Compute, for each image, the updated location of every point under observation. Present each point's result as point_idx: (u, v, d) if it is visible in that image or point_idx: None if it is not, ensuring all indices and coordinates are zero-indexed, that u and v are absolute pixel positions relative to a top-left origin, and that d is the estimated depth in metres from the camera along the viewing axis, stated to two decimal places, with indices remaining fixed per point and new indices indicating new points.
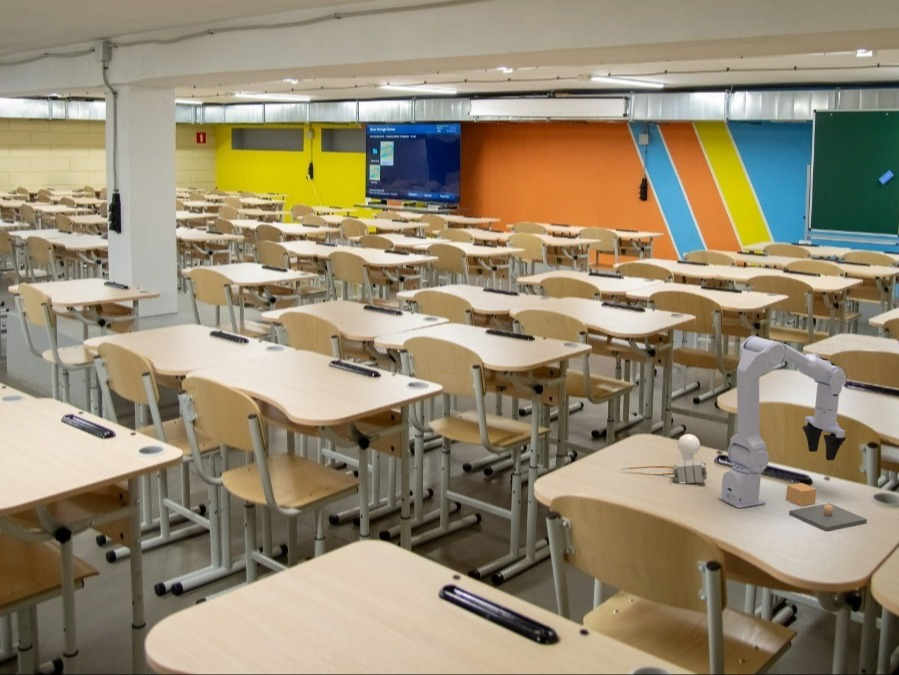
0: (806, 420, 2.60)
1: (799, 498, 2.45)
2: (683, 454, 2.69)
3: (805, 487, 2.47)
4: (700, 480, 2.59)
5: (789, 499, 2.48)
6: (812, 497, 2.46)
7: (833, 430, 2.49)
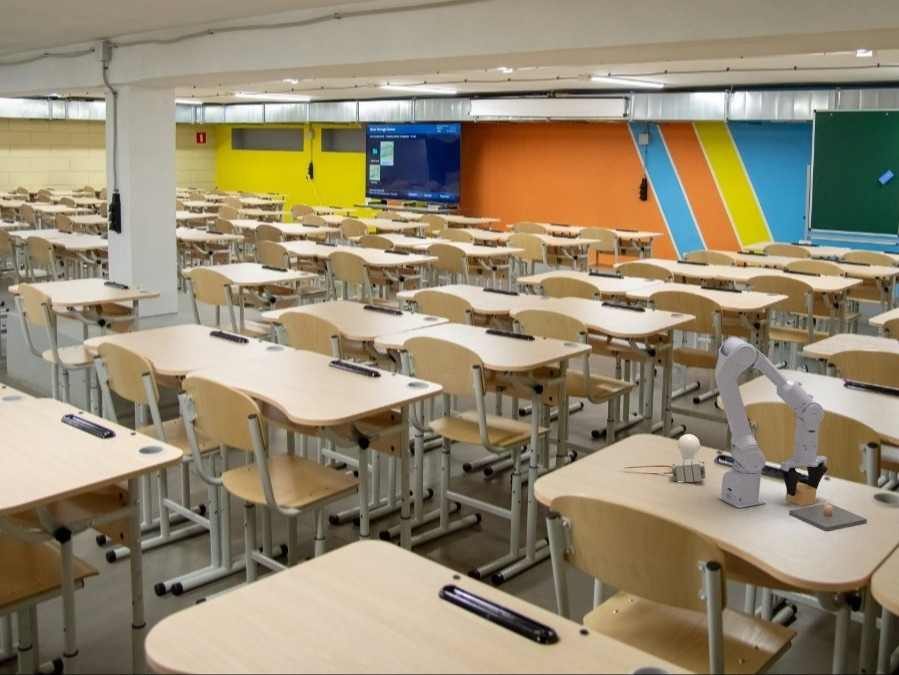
0: None
1: (799, 498, 2.45)
2: (683, 454, 2.69)
3: (805, 487, 2.47)
4: (699, 479, 2.60)
5: (789, 499, 2.48)
6: (812, 497, 2.46)
7: None
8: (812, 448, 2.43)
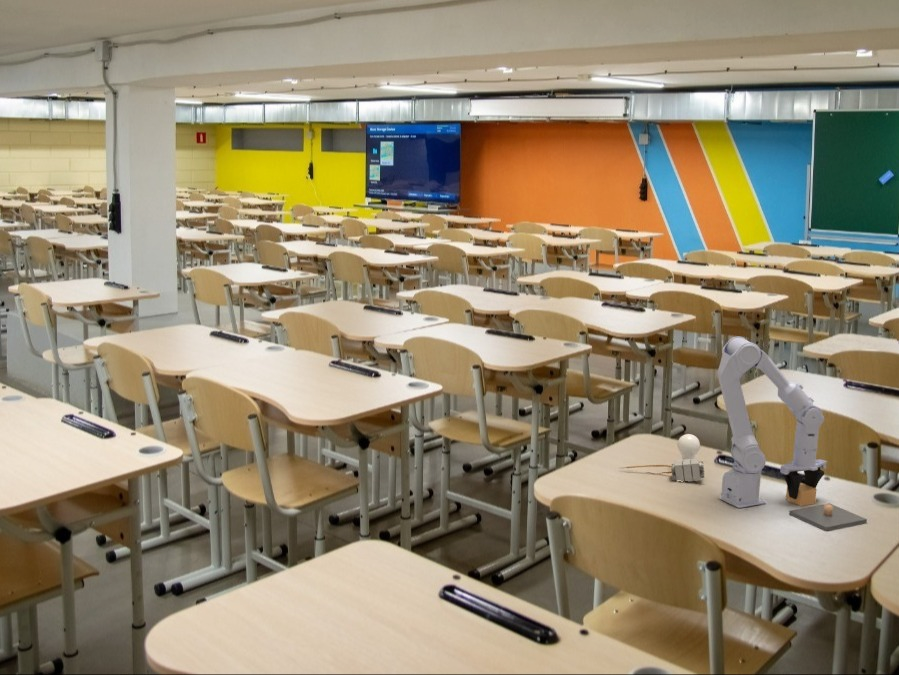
0: None
1: (799, 498, 2.45)
2: (683, 454, 2.69)
3: (805, 487, 2.47)
4: (698, 479, 2.60)
5: (789, 499, 2.48)
6: (812, 497, 2.46)
7: None
8: (812, 452, 2.43)
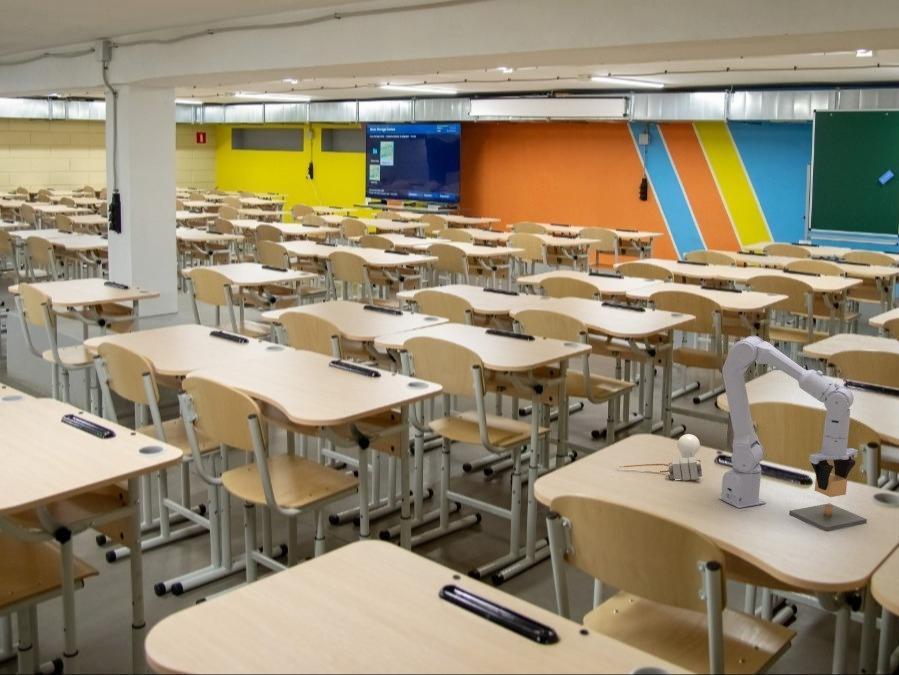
0: None
1: (829, 489, 2.32)
2: (683, 454, 2.69)
3: (835, 477, 2.34)
4: (695, 477, 2.61)
5: (818, 490, 2.35)
6: (843, 488, 2.33)
7: None
8: (843, 440, 2.30)
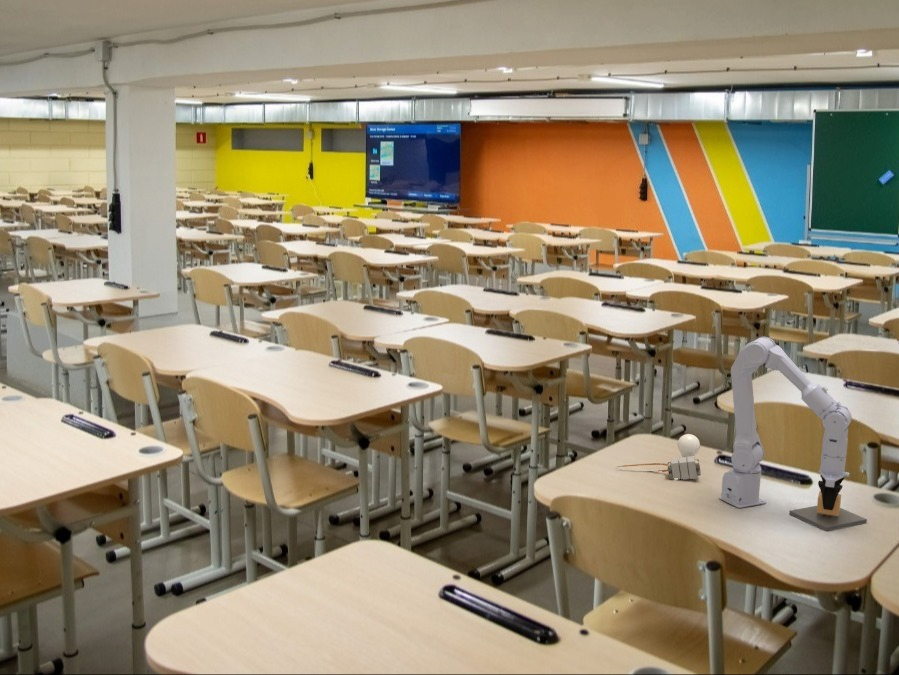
0: None
1: (836, 508, 2.33)
2: (683, 454, 2.69)
3: None
4: (694, 476, 2.62)
5: (821, 511, 2.34)
6: None
7: (825, 478, 2.30)
8: (845, 458, 2.32)
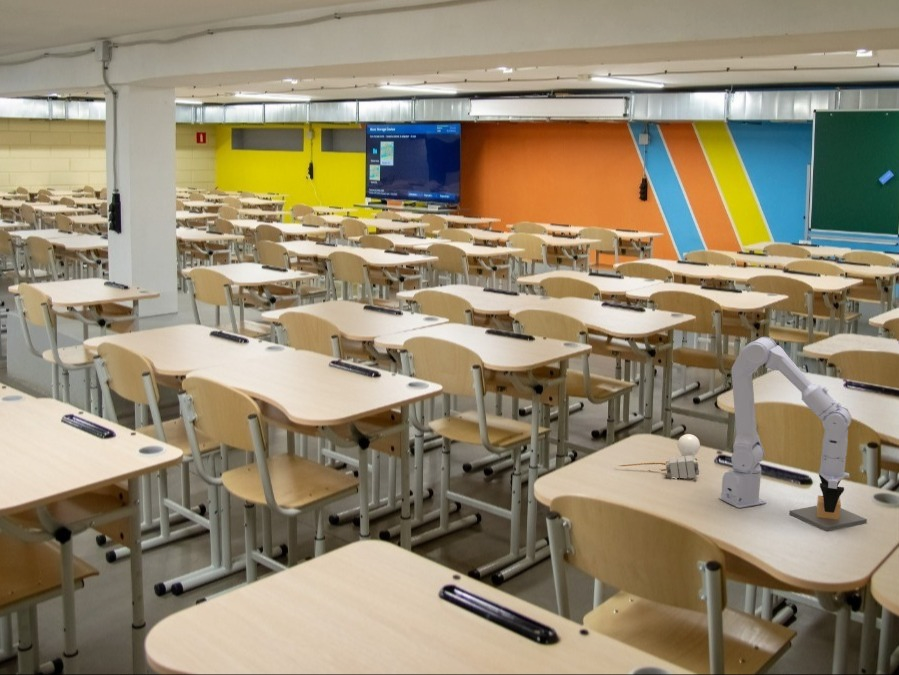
0: None
1: (837, 512, 2.33)
2: (683, 454, 2.69)
3: None
4: (693, 475, 2.63)
5: (822, 516, 2.34)
6: None
7: (827, 479, 2.30)
8: (845, 458, 2.32)
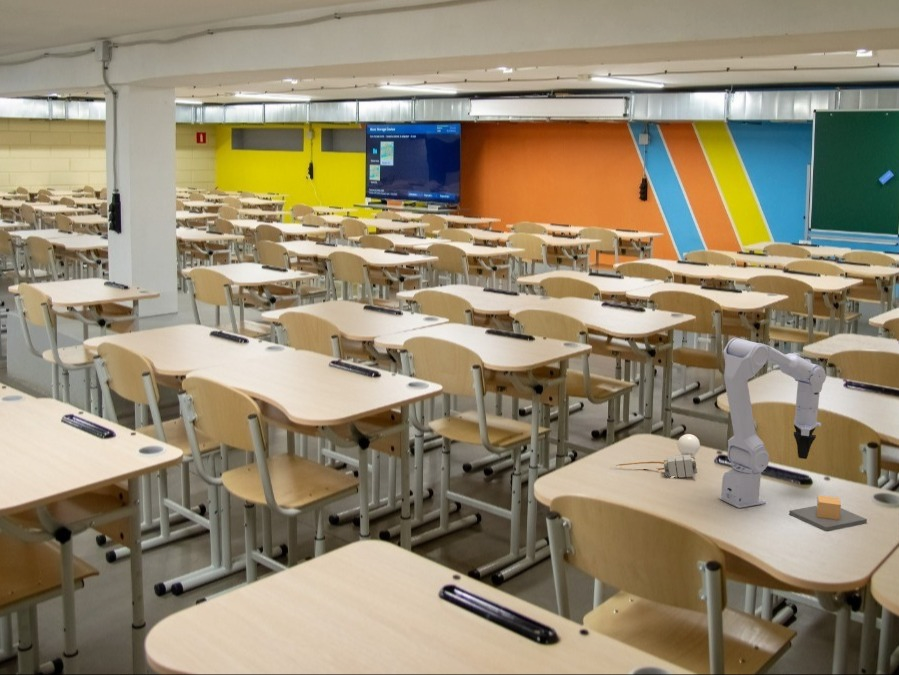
0: None
1: (837, 512, 2.33)
2: (683, 454, 2.69)
3: (831, 499, 2.36)
4: (691, 474, 2.64)
5: (822, 516, 2.34)
6: None
7: (800, 427, 2.49)
8: (817, 409, 2.51)
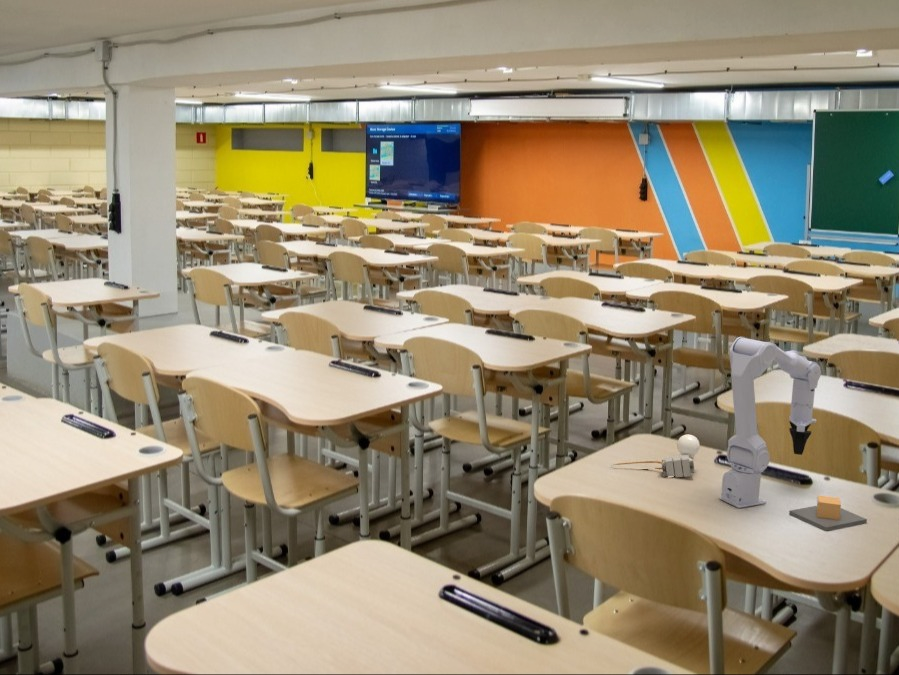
0: None
1: (837, 512, 2.33)
2: (682, 454, 2.69)
3: (831, 499, 2.36)
4: (688, 474, 2.64)
5: (822, 516, 2.34)
6: None
7: (796, 424, 2.52)
8: (812, 405, 2.55)
